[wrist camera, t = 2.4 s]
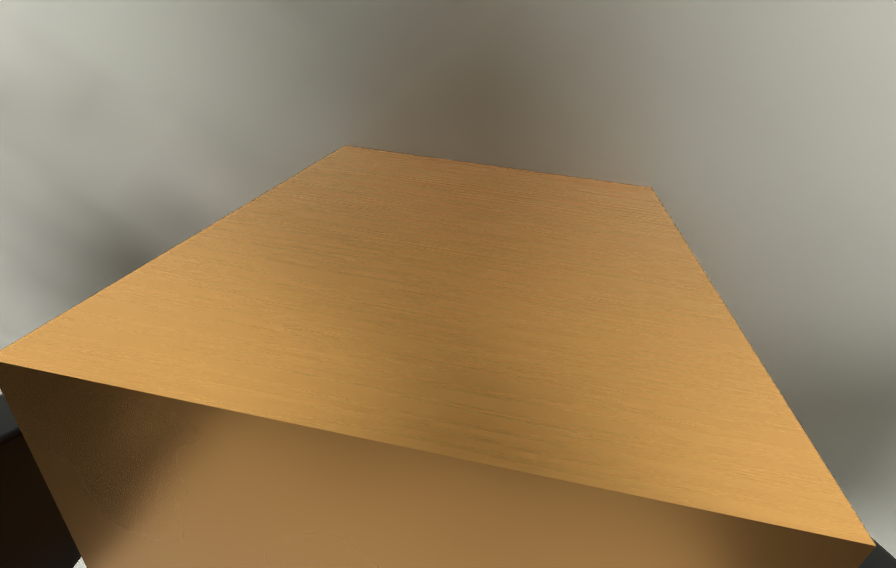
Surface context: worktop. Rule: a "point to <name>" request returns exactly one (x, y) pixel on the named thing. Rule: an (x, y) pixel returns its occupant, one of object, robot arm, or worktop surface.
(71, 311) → the block
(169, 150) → the worktop surface
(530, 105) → the worktop surface
